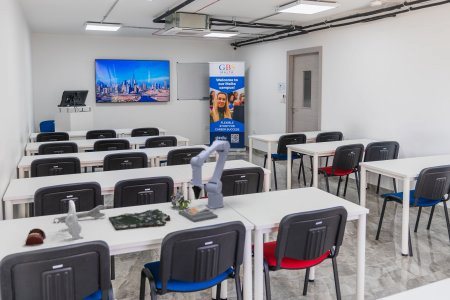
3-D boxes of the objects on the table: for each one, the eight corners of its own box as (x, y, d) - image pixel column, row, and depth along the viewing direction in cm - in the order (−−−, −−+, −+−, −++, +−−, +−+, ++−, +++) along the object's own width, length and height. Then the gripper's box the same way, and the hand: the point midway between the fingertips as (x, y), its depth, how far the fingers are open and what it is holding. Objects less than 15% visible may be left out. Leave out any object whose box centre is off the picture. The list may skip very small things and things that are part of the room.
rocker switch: (201, 206, 256) (201, 204, 256) (207, 209, 250) (206, 207, 250) (188, 213, 251) (187, 210, 251) (193, 216, 246) (192, 213, 245)
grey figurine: (65, 229, 227) (63, 197, 224) (78, 227, 230) (77, 196, 227) (68, 241, 209) (66, 207, 206) (83, 238, 212) (81, 205, 209)
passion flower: (173, 216, 268) (167, 198, 273) (191, 211, 273) (184, 193, 277) (176, 210, 257) (169, 191, 262) (194, 205, 262) (187, 186, 266)
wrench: (55, 227, 238) (107, 216, 247) (54, 228, 237) (107, 217, 246) (52, 214, 237) (105, 204, 246) (52, 215, 235) (105, 204, 244)
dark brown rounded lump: (24, 234, 201) (28, 226, 212) (24, 247, 201) (28, 238, 213) (42, 233, 203) (46, 226, 214) (43, 245, 204) (46, 237, 215)
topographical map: (108, 219, 245) (108, 214, 244) (162, 212, 259) (162, 208, 258) (117, 233, 222) (117, 228, 221) (175, 225, 235) (175, 220, 235)
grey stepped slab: (201, 209, 264) (200, 204, 263) (217, 217, 247) (217, 212, 247) (178, 213, 255) (178, 208, 255) (194, 222, 239) (194, 216, 238)
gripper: (185, 175, 258) (185, 196, 260) (197, 179, 246) (197, 201, 248) (195, 173, 262) (195, 194, 264) (207, 177, 250) (207, 199, 252)
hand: (197, 197), depth 256 cm, fingers closed
